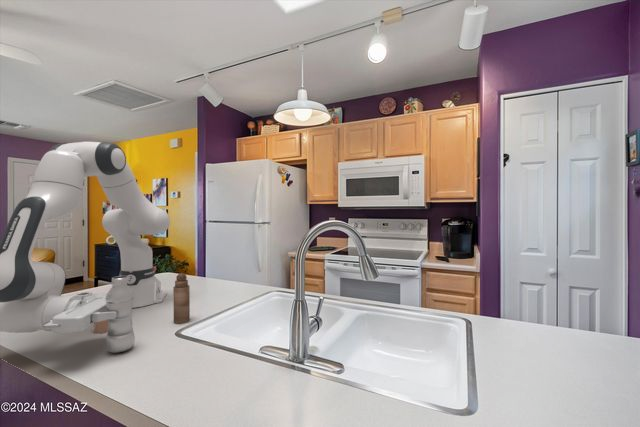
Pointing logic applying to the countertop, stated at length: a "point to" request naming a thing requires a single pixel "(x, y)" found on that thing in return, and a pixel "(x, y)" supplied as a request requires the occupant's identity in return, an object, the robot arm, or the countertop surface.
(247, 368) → the countertop surface
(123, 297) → the plastic bottle
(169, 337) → the countertop surface
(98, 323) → the salt jar
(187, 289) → the pepper mill
